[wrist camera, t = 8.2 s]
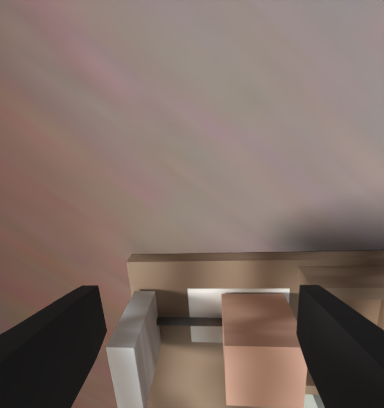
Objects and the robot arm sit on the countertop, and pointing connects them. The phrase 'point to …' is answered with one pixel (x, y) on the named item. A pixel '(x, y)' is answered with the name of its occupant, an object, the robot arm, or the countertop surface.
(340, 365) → the robot arm
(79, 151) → the countertop surface
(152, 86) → the countertop surface
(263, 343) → the tethered block
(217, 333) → the lane rack
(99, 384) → the countertop surface
